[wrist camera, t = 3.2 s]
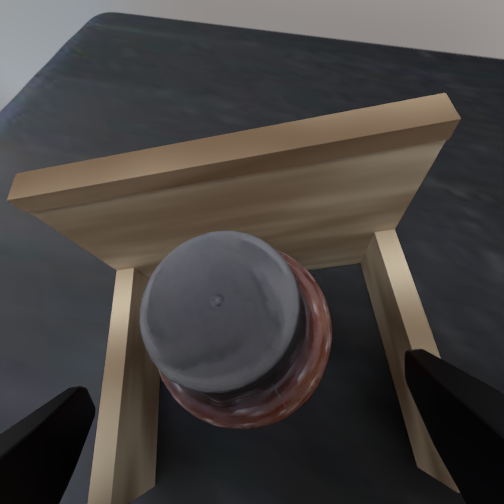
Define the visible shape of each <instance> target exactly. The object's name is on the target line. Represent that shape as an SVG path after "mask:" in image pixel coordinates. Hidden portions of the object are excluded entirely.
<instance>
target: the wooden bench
mask: <svg viewBox="0 0 504 504" xmlns="http://www.w3.org/2000/svg"><path fill="white" fill-rule="evenodd" d="M460 120H461V118H460V116H459V115H458V113H457V111H456V110H455V108H454V106H453V105H452V103H451V101H450V99H449V98H448V96H447V94H446V93H442V94H436V95H431V96H426V97H420V98H415V99H410V100H405V101H399V102H394V103H389V104H383V105H378V106H373V107H367V108H362V109H357V110H351V111H346V112H341V113H336V114H330V115H325V116H320V117H314V118H309V119H304V120H298V121H293V122H288V123H282V124H277V125H272V126H267V127H261V128H256V129H251V130H245V131H240V132H235V133H229V134H224V135H219V136H213V137H208V138H203V139H198V140H192V141H187V142H182V143H176V144H171V145H166V146H160V147H155V148H150V149H144V150H139V151H134V152H129V153H123V154H118V155H113V156H107V157H102V158H97V159H91V160H86V161H81V162H75V163H70V164H65V165H60V166H54V167H49V168H44V169H38V170H33V171H28V172H22V173H17V174H16V175H15V178H14V181H13V184H12V187H11V190H10V192H9V195H8V198H7V201H8V202H10V203H12V204H13V205H15V206H16V207H18V208H19V209H21V210H22V211H24V212H25V213H31V214H32V215H34V216H35V217H37V218H38V219H40V220H41V221H43V222H44V223H46V224H47V225H49V226H51V227H52V228H54V229H55V230H57V231H58V232H60V233H61V234H63V235H64V236H66V237H67V238H69V239H70V240H72V241H73V242H75V243H76V244H78V245H79V246H81V247H82V248H84V249H85V250H87V251H88V252H90V253H91V254H93V255H94V256H96V257H97V258H99V259H100V260H102V261H103V262H105V263H106V264H108V265H109V266H111V267H112V268H114V269H115V270H117V274H116V282H115V290H114V298H113V306H112V313H111V321H110V329H109V337H108V345H107V353H106V361H105V369H104V377H103V385H102V393H101V401H100V409H99V417H98V425H97V432H96V440H95V448H94V456H93V464H92V472H91V480H90V488H89V496H88V504H128V503H130V502H131V501H133V500H134V499H136V498H137V497H139V496H140V495H142V494H144V493H145V492H147V491H148V490H150V489H151V488H153V487H154V486H155V475H156V453H157V432H158V410H159V389H160V373H159V370H158V368H157V366H156V365H155V364H154V363H153V362H152V361H151V359H150V358H149V354H148V352H147V350H146V347H145V345H144V342H143V339H142V336H141V331H140V324H139V320H140V307H141V301H142V296H143V293H144V291H145V289H146V286H147V284H148V281H149V279H150V277H151V275H152V274H153V272H154V271H155V269H156V267H157V266H158V265H159V264H160V263H161V261H162V260H163V259H164V258H165V257H166V256H167V255H168V254H169V253H170V252H172V251H173V250H174V249H175V248H177V247H178V246H180V245H181V244H182V243H184V242H186V241H188V240H190V239H192V238H194V237H197V236H199V235H203V234H206V233H209V232H217V231H237V232H242V233H247V234H250V235H253V236H255V237H257V238H260V239H262V240H263V241H265V242H266V243H268V244H270V245H271V246H272V247H273V248H275V249H276V250H279V251H281V252H283V253H285V254H287V255H288V256H290V257H292V258H293V259H295V260H296V261H297V262H299V263H300V264H301V265H302V266H303V267H304V268H305V269H306V270H314V269H322V268H329V267H336V266H343V265H350V264H357V263H360V264H361V267H362V271H363V274H364V278H365V282H366V285H367V289H368V292H369V296H370V299H371V303H372V307H373V310H374V314H375V317H376V321H377V324H378V328H379V332H380V335H381V339H382V342H383V346H384V350H385V353H386V357H387V360H388V364H389V367H390V371H391V375H392V378H393V382H394V385H395V389H396V392H397V396H398V400H399V403H400V407H401V410H402V414H403V418H404V421H405V425H406V428H407V432H408V435H409V439H410V443H411V446H412V450H413V453H414V457H415V460H416V464H417V467H418V468H420V469H421V470H423V471H424V472H426V473H427V474H429V475H431V476H432V477H434V478H435V479H437V480H438V481H440V482H442V483H443V484H445V485H446V486H448V487H449V488H451V489H452V490H454V491H456V492H457V493H460V491H459V490H458V488H457V486H456V484H455V483H454V481H453V479H452V477H451V475H450V474H449V472H448V470H447V468H446V466H445V465H444V463H443V461H442V459H441V458H440V456H439V454H438V452H437V450H436V448H435V446H434V444H433V442H432V440H431V438H430V436H429V434H428V431H427V429H426V427H425V425H424V422H423V420H422V418H421V416H420V413H419V411H418V409H417V406H416V404H415V402H414V400H413V397H412V395H411V393H410V391H409V388H408V386H407V383H406V380H405V352H406V351H407V350H412V349H424V350H426V351H428V352H429V353H431V354H433V355H435V356H437V357H438V358H440V359H441V357H440V355H439V352H438V349H437V346H436V343H435V341H434V338H433V335H432V332H431V329H430V327H429V324H428V321H427V318H426V315H425V313H424V310H423V307H422V304H421V301H420V299H419V296H418V293H417V290H416V287H415V285H414V282H413V279H412V276H411V273H410V271H409V268H408V265H407V262H406V259H405V257H404V254H403V251H402V248H401V245H400V243H399V240H398V237H397V234H396V231H395V228H396V226H397V224H398V223H399V221H400V219H401V217H402V216H403V214H404V212H405V211H406V209H407V207H408V205H409V204H410V202H411V200H412V198H413V197H414V195H415V193H416V191H417V190H418V188H419V186H420V184H421V183H422V181H423V179H424V178H425V176H426V174H427V172H428V171H429V169H430V167H431V165H432V164H433V162H434V160H435V158H436V157H437V155H438V153H439V151H440V150H441V148H442V146H443V145H444V143H445V141H446V140H449V138H450V137H451V135H452V133H453V132H454V130H455V128H456V126H457V125H458V123H459V121H460Z"/></svg>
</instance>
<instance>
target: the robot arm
mask: <svg viewBox="0 0 504 504" xmlns="http://www.w3.org/2000/svg"><path fill="white" fill-rule="evenodd" d="M405 380H406V383H407V386H408V388H409V391H410V393H411V395H412V397H413V400H414V402H415V404H416V406H417V409H418V411H419V413H420V416H421V418H422V420H423V422H424V425H425V427H426V429H427V431H428V434H429V436H430V438H431V440H432V442H433V444H434V446H435V448H436V450H437V452H438V454H439V456H440V458H441V459H442V461H443V463H444V465H445V466H446V468H447V470H448V472H449V474H450V475H451V477H452V479H453V481H454V483H455V484H456V486H457V488H458V490H459V491H460V493H461V495H462V497H463V499H464V500H465V502H466V504H504V394H503V393H501V392H500V391H498V390H496V389H494V388H492V387H491V386H489V385H487V384H485V383H483V382H482V381H480V380H478V379H476V378H474V377H473V376H471V375H469V374H467V373H465V372H464V371H462V370H460V369H458V368H456V367H455V366H453V365H451V364H449V363H447V362H446V361H444V360H442V359H440V358H438V357H437V356H435V355H433V354H431V353H429V352H428V351H426V350H424V349H412V350H407V351H406V352H405ZM94 417H95V406H94V403H93V401H92V399H91V397H90V395H89V392H88V390H87V388H85V387H83V386H79V387H71V388H68V389H67V390H65V391H64V392H62V393H61V394H59V395H58V396H56V397H55V398H53V399H52V400H50V401H49V402H47V403H46V404H44V405H43V406H42V407H40V408H39V409H37V410H36V411H34V412H33V413H31V414H30V415H28V416H27V417H25V418H24V419H22V420H21V421H19V422H18V423H16V424H15V425H13V426H12V427H10V428H9V429H7V430H6V431H4V432H3V433H1V434H0V504H59V503H60V501H61V499H62V497H63V495H64V492H65V490H66V488H67V486H68V484H69V482H70V479H71V477H72V475H73V472H74V470H75V467H76V465H77V462H78V460H79V457H80V454H81V451H82V449H83V446H84V443H85V441H86V438H87V435H88V433H89V430H90V427H91V425H92V422H93V419H94Z"/></svg>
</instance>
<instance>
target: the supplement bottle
mask: <svg viewBox="0 0 504 504" xmlns="http://www.w3.org/2000/svg"><path fill="white" fill-rule="evenodd" d="M139 324H140V331H141V336H142V339H143V342H144V345H145V347H146V350H147V352H148V354H149V358H150V359H151V361H152V362H153V363H154V364H155V365H156V366H157V368H158V370H159V373H160V375H161V378H162V380H163V382H164V383H165V385H166V387H167V389H168V390H169V391H170V393H171V394H172V396H173V398H174V399H175V400H176V401H177V402H178V403H179V404H180V405H181V406H182V407H183V408H184V409H186V410H187V411H188V412H189V413H191V414H192V415H194V416H195V417H197V418H199V419H201V420H203V421H205V422H207V423H209V424H212V425H214V426H217V427H222V428H229V429H252V428H258V427H262V426H266V425H270V424H273V423H275V422H277V421H280V420H282V419H284V418H285V417H287V416H289V415H290V414H291V413H293V412H294V411H295V410H297V409H298V408H299V407H300V406H301V405H302V404H303V403H305V402H306V401H307V400H308V398H309V397H310V396H311V394H312V393H313V392H314V390H315V389H316V388H317V386H318V384H319V382H320V380H321V378H322V376H323V373H324V370H325V368H326V365H327V362H328V358H329V354H330V349H331V342H332V324H331V317H330V313H329V309H328V305H327V302H326V299H325V296H324V294H323V292H322V290H321V289H320V287H319V285H318V284H317V282H316V281H315V279H314V278H313V276H312V275H311V274H310V273H309V271H307V270H306V269H305V268H304V267H303V266H302V265H301V264H300V263H299V262H297V261H296V260H295V259H293V258H292V257H290V256H288V255H287V254H285V253H283V252H281V251H279V250H276V249H275V248H273V247H272V246H271V245H270V244H268V243H266V242H265V241H263V240H262V239H260V238H257V237H255V236H253V235H250V234H247V233H242V232H237V231H217V232H209V233H206V234H203V235H199V236H197V237H194V238H192V239H190V240H188V241H186V242H184V243H182V244H181V245H180V246H178V247H177V248H175V249H174V250H173V251H172V252H170V253H169V254H168V255H167V256H166V257H165V258H164V259H163V260H162V261H161V263H160V264H159V265H158V266H157V267H156V269H155V271H154V272H153V274H152V275H151V277H150V279H149V281H148V284H147V286H146V289H145V291H144V293H143V296H142V301H141V307H140V320H139Z"/></svg>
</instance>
